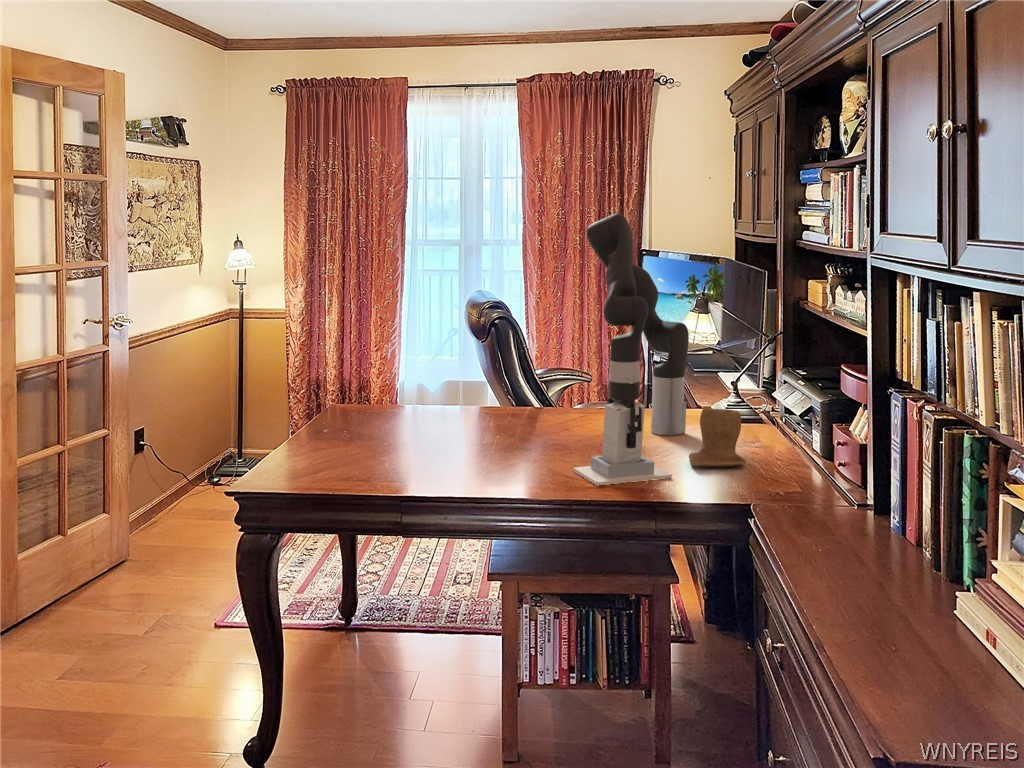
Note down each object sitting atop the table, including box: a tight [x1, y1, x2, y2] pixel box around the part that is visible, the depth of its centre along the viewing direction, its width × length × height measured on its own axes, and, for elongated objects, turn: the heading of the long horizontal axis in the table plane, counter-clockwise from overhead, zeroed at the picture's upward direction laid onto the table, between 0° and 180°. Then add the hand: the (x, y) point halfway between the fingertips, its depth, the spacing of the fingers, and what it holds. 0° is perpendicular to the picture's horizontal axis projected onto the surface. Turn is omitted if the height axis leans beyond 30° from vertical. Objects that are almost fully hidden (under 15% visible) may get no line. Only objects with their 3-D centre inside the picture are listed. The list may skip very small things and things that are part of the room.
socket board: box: [572, 455, 673, 487], centre depth 220 cm, size 20×14×4 cm
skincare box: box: [601, 400, 646, 465], centre depth 218 cm, size 8×6×15 cm
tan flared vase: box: [688, 407, 747, 468], centre depth 229 cm, size 15×12×15 cm
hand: (623, 444), depth 219 cm, fingers open, 8 cm apart
